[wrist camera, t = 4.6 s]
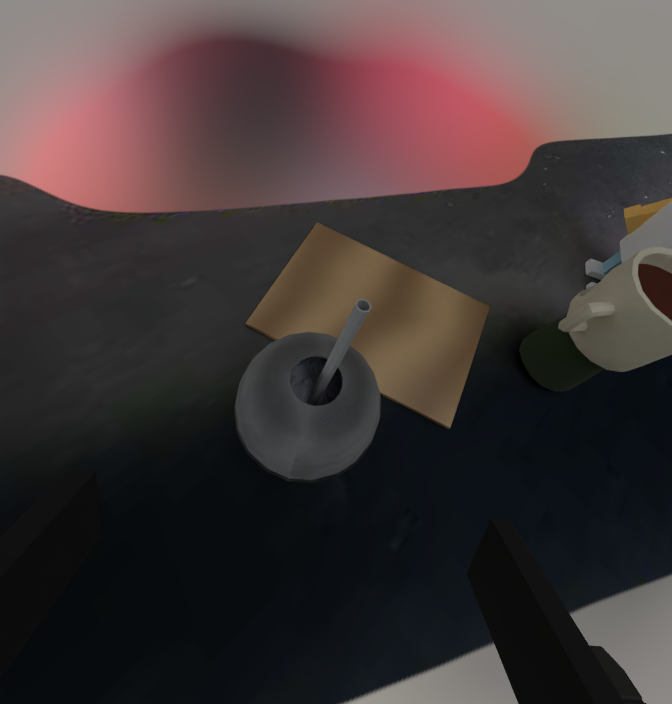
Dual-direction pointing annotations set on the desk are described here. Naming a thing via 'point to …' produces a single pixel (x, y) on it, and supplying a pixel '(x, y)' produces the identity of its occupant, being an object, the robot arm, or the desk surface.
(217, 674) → the desk surface
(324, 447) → the beverage cup
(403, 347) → the cork mat
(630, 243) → the character figure
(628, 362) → the character mug
